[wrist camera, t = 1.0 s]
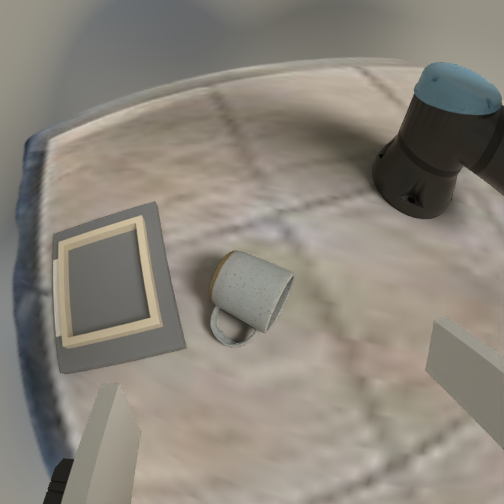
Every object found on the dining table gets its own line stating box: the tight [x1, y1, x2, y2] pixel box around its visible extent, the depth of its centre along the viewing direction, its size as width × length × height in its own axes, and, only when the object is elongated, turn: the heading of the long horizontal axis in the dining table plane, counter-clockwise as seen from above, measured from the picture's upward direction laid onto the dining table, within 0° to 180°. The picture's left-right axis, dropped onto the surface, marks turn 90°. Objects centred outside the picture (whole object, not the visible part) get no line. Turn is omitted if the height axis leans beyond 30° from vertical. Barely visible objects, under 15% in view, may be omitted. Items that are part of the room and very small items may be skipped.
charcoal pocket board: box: [53, 202, 187, 374], centre depth 40 cm, size 18×22×3 cm
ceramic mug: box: [209, 251, 295, 348], centre depth 36 cm, size 11×8×8 cm
